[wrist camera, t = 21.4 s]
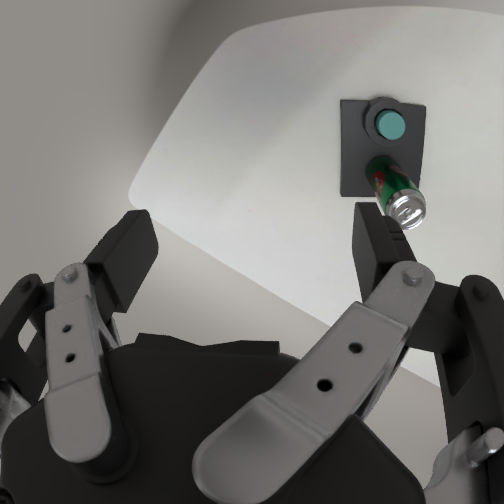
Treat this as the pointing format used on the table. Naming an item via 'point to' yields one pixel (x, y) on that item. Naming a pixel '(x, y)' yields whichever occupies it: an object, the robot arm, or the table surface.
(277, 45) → the table surface
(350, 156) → the dark grey flat block
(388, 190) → the soda can
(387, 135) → the button
